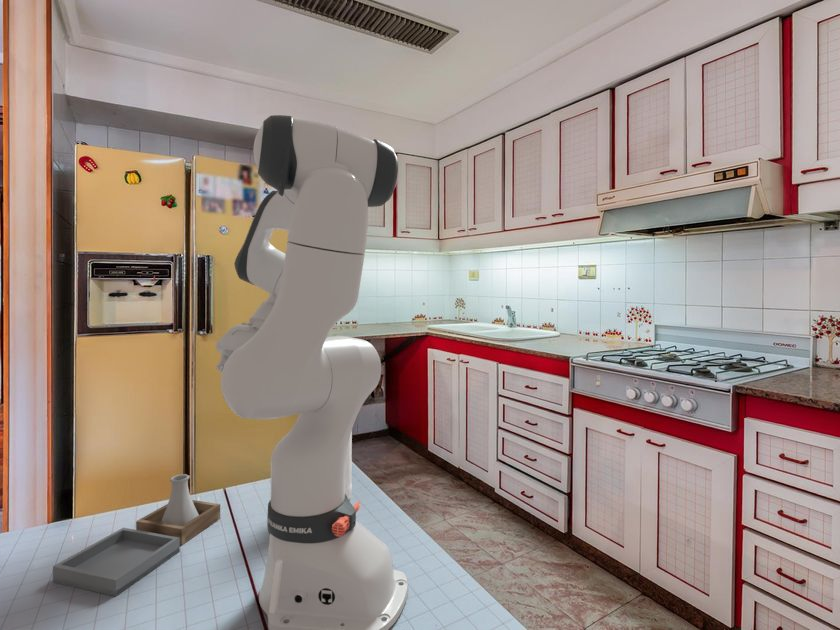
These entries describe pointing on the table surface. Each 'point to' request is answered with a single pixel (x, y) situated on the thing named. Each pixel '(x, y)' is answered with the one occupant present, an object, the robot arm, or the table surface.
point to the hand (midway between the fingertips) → (234, 372)
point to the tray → (116, 561)
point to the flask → (179, 503)
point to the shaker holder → (189, 530)
